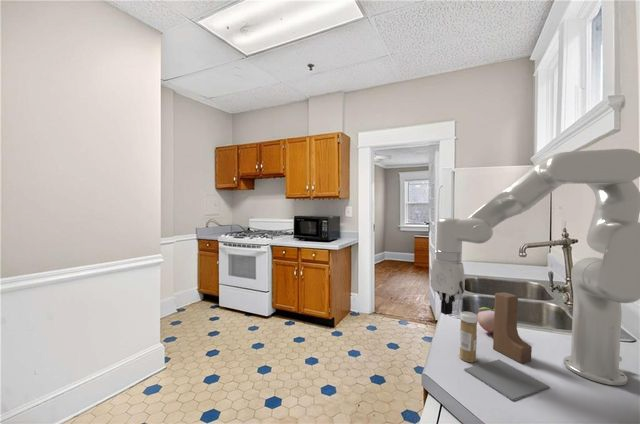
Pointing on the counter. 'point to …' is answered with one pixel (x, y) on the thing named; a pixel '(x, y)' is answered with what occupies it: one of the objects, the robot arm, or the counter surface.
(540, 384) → the mat
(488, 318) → the decorative fruit
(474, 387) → the counter surface
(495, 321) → the wooden block
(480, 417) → the counter surface
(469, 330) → the sprinkles bottle
